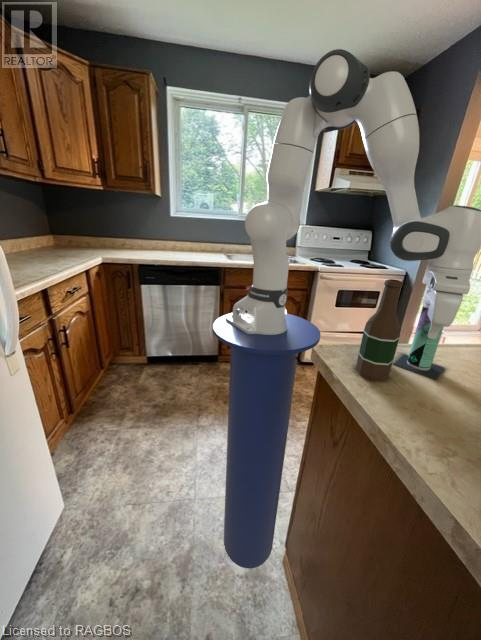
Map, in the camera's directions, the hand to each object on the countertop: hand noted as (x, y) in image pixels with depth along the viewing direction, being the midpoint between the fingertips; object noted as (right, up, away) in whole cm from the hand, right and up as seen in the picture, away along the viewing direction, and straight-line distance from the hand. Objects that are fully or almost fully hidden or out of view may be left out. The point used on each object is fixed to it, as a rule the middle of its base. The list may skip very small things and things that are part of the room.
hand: (428, 331), depth 70 cm
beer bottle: (-15, -11, -1) cm, 19 cm away
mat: (0, -10, +3) cm, 10 cm away
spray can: (0, -10, +4) cm, 10 cm away
